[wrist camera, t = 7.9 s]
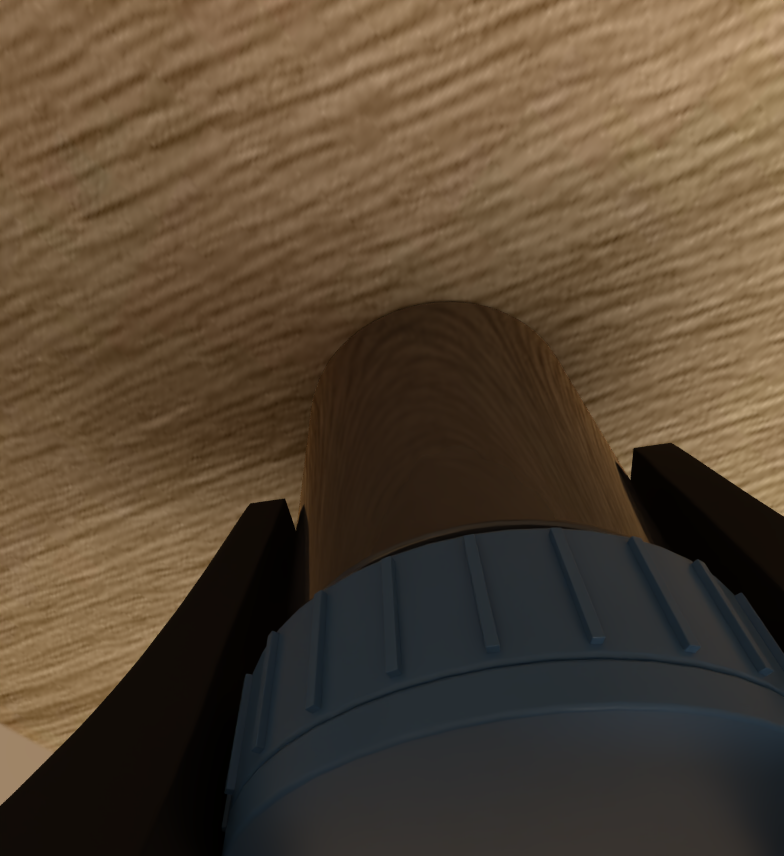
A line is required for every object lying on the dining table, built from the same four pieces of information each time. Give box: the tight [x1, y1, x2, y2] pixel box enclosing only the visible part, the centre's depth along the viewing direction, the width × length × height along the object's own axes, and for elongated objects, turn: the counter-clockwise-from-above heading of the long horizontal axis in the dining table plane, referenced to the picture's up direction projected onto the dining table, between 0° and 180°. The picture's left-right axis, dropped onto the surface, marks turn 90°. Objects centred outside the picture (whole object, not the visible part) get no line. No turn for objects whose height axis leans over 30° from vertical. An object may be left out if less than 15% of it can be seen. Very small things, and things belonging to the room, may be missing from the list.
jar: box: [285, 302, 673, 623], centre depth 9 cm, size 5×5×8 cm
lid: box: [221, 527, 784, 856], centre depth 7 cm, size 6×6×2 cm
